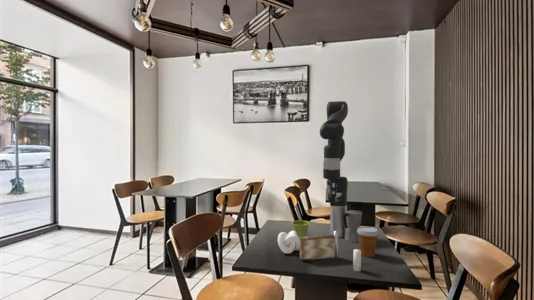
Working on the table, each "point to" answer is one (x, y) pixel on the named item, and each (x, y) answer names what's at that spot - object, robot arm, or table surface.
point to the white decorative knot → (289, 242)
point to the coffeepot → (352, 224)
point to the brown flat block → (316, 246)
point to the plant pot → (300, 228)
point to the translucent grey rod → (335, 244)
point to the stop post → (357, 260)
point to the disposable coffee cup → (367, 240)
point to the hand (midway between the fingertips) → (331, 203)
